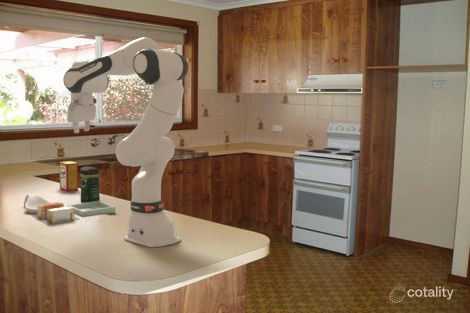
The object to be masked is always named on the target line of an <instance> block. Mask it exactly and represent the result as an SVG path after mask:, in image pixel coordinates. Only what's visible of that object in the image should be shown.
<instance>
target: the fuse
mask: <svg viewBox="0 0 470 313" xmlns="http://www.w3.org/2000/svg"><path fill="white" fill-rule="evenodd" d="M64 204H65V203H63V202H62V201H57V202H50V203H48V204H41V205H37V207H38V213H37V215H38V216H39V217H40V218H42V211H45V217H47V209H55V208H62V207H65V206H64Z"/></svg>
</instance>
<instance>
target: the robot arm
mask: <svg viewBox="0 0 470 313" xmlns="http://www.w3.org/2000/svg"><path fill="white" fill-rule="evenodd" d="M188 71H189V64H188V61H187V59H186V57H185V56H183V55H182V54H180V53H178V52H173V51H169V50H167V51H166V50H164V49H159V46H158V43H157V42H156V41H155V40H154V39H153V38H150V37H147V36H143V37H139V38H137V39H135V40H132V41H130V42H128V43H126V44H125V45H124V46H122V47H120V48H118V49H117V50H114V51H112V52H110V53H108V54H106V55H103V56H101V57H98V58H96V59H93V60H91V61H89V60H88V61H87V60H80V61H79V60H78V61H74V62H73V63H72V66H71V67H70V68H68V69H67V70H66V72H65V73H64V75H63V85H64V87H65V89H66V90H68V91H69V92H70V102H69V105H68V107H67V112H66V116H67V117H66V120H67V122H68V123H70V124H71V123H72V127H73V133H74V134H79V133H80V128H79V125H80V124H79V123H83V122H84V126H83V132H88V131H90V125H91V121H94V120H95V119H96V113H97V112H96V111H97V109H96V108H97V107H96V104H97V98H96V97H94V96H93V94H100V93H105V91H107V89H108V87H109V85H110V83H109V82H110V80H109V76H132V75H135V74H136V75H137V76H138V77H139V78H140V79H141V80H142V81H143V82H144V83H145V84H146V85H148V86H151V85H152V86H153V88H152V89H153V90H152V94H151V97H150V99H149V101H148V104H147V107H146V108H145V111H144V112H143V113H144V114H143V116H142V118H141V120H140V122H139V123H138V124H137V125H136V126H135V128H134V129H133V130H132V131H131V132H130V133H129V134H128V135H127V136H126V137H125V138H123V139H122V140H120V141H119V142H117V144H116V147H115V156H116V159H117V161H118V162H119V164H121V165H122V166H127V167H140V166H141V167H140V169H139V171H138V173H136V175H135V176H134V177H133V178H132V180H131V200H130V204H129V206H130V210H131V212H130V214H129V216H128V219H127V231H126V235H125V236H124V241H128V242H131V243H135V244H138V245H142V246H144V247H148V248H158V247H164V246H169V245H173V244H176V243H179V242H181V241H182V240H181V239H182V238H181V237H180V236H178V235H176V234H175V224H174V221H173V220H171V219H170V217H168V215H167V214H166V212H165V211H164V210H165V207H164V206H165V204H164V203H163V200H162V198H161V197H162V194H161V193H162V178H163V176H164V171H165V169H166V167H167V164H168V163H169V162H170V160H171V159H172V158H173V157H174V154H175V148H176V147H175V144H174V142H173V140H172V139H171V138H170V137H167V136H165V135H167V134H168V133H169V132H170V131H171V130H172V127H173V125H174V122H175V120H176V118H177V116H178V112H179V111H180V108H181V104H182V100H183V96H184V92H185V89H184V85H183V84H182V82H181V80H183V79H185V77H186V76H187V75H188Z"/></svg>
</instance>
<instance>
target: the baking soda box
mask: <svg viewBox="0 0 470 313" xmlns="http://www.w3.org/2000/svg"><path fill="white" fill-rule="evenodd" d="M58 163H59V170H58V171H59V189H60V190H62V191H64V190H65V192H74V191H79V173H78V172H79V170H78V169H79V167H78V166H79V165H78V162H75V161H72V160H67V161H59V162H58Z"/></svg>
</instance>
